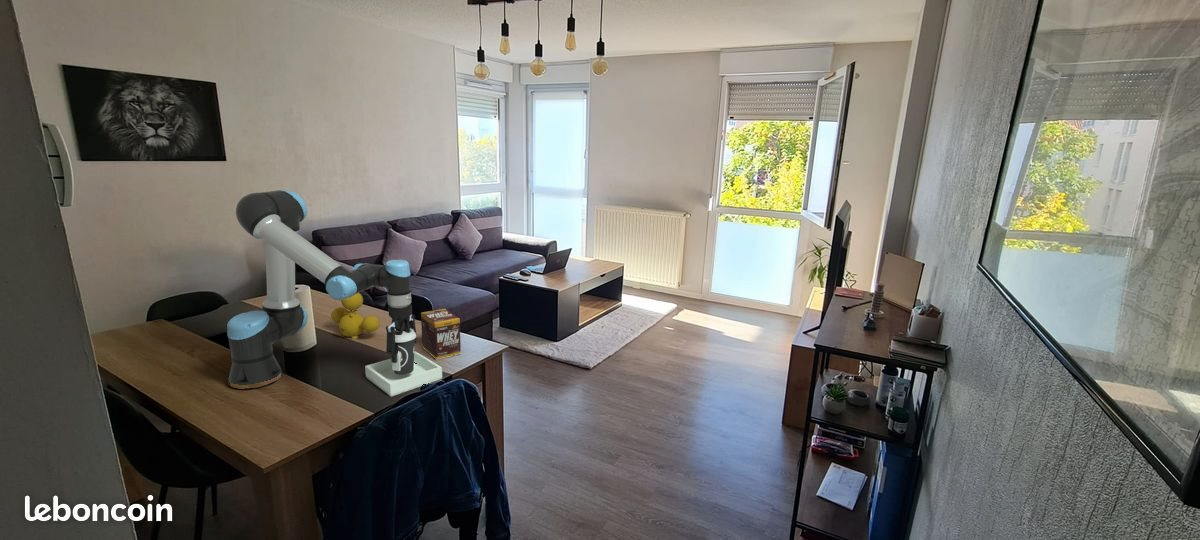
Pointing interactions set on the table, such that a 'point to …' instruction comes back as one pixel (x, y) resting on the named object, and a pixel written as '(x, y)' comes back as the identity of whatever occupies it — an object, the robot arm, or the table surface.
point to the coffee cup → (406, 351)
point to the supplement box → (440, 333)
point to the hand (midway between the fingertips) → (403, 365)
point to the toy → (353, 318)
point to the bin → (397, 383)
